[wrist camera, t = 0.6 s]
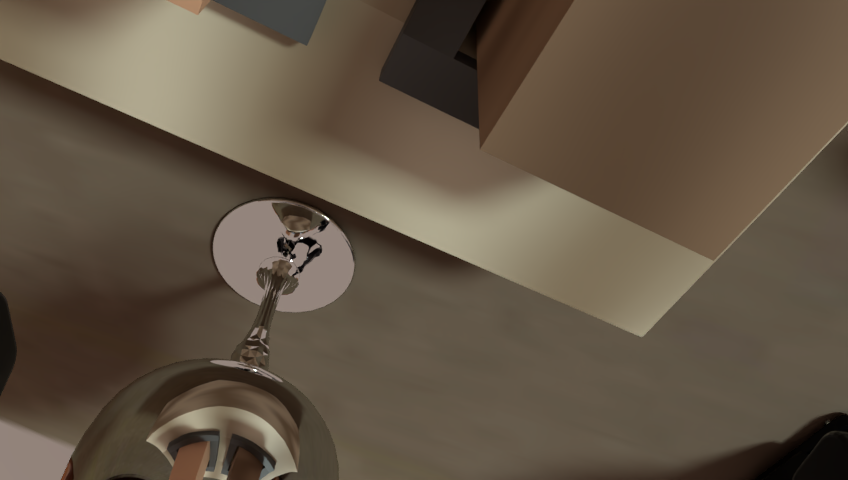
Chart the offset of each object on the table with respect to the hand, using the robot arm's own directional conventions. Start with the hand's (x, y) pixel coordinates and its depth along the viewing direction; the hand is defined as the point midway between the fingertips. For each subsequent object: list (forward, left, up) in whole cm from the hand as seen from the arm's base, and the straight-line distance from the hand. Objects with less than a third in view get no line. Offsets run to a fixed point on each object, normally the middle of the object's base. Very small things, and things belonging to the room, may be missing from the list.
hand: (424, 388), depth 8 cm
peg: (-2, -3, -9) cm, 10 cm away
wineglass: (+1, +9, -13) cm, 16 cm away
